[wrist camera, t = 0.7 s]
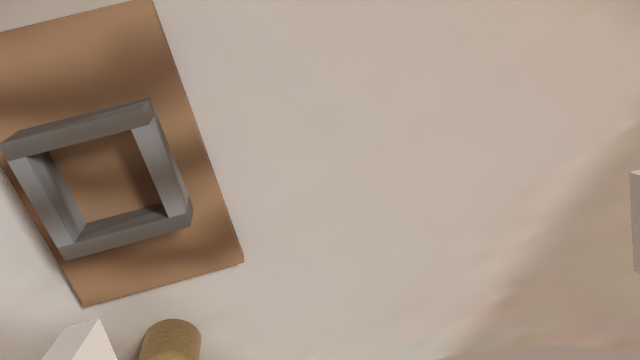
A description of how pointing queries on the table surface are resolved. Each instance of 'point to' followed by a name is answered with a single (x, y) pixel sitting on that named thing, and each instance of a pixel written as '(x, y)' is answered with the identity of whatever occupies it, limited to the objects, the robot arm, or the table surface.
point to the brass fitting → (171, 341)
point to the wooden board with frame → (110, 153)
